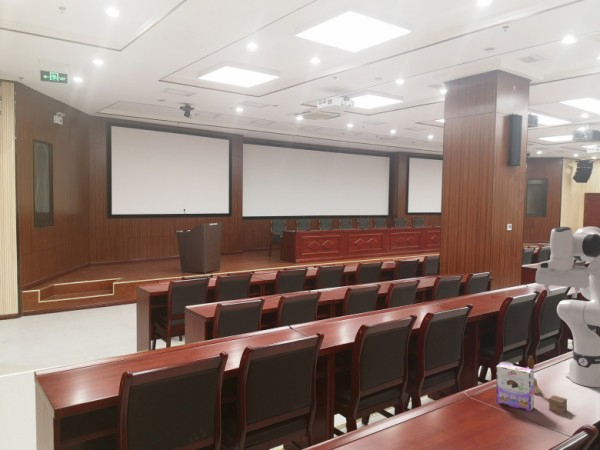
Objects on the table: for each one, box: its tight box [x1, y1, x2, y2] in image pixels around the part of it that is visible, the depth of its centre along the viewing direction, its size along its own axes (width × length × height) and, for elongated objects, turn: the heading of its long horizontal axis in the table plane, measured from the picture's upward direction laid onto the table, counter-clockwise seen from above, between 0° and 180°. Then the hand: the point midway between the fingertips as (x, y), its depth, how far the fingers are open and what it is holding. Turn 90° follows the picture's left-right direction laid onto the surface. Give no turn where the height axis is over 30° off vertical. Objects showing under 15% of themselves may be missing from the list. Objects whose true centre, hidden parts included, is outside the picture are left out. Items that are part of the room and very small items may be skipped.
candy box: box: [495, 362, 535, 412], centre depth 186 cm, size 14×6×16 cm, turn 47°
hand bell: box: [527, 355, 542, 395], centre depth 201 cm, size 8×8×16 cm
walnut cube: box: [548, 394, 568, 415], centre depth 180 cm, size 5×5×5 cm
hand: (561, 296), depth 187 cm, fingers open, 8 cm apart
